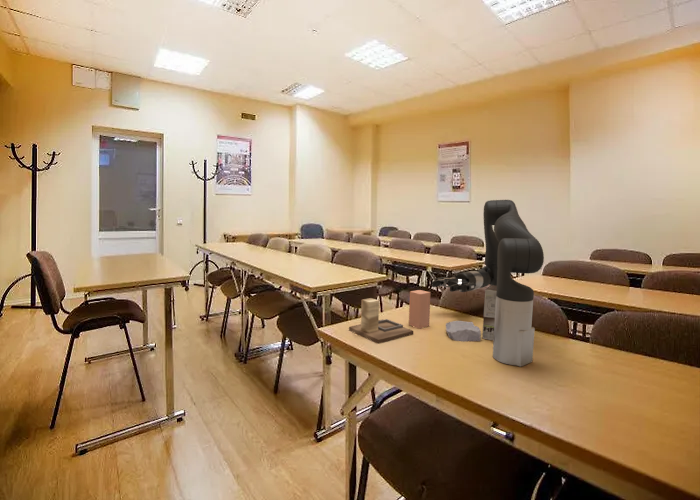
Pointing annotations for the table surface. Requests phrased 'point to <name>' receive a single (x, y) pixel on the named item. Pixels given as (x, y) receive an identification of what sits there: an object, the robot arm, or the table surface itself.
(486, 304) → the coffee box
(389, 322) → the slot frame
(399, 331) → the brown board
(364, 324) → the birch column
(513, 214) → the robot arm
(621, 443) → the table surface
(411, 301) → the terracotta pillar
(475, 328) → the stone block
